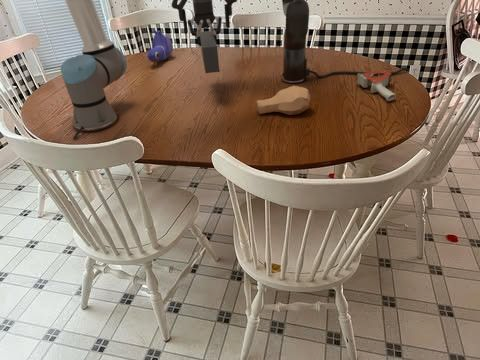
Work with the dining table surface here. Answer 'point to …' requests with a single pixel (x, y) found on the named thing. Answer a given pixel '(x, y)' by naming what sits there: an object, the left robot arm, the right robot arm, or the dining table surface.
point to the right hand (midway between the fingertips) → (207, 44)
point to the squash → (286, 101)
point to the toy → (160, 47)
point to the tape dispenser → (377, 83)
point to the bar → (209, 52)
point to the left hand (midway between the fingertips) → (207, 29)
